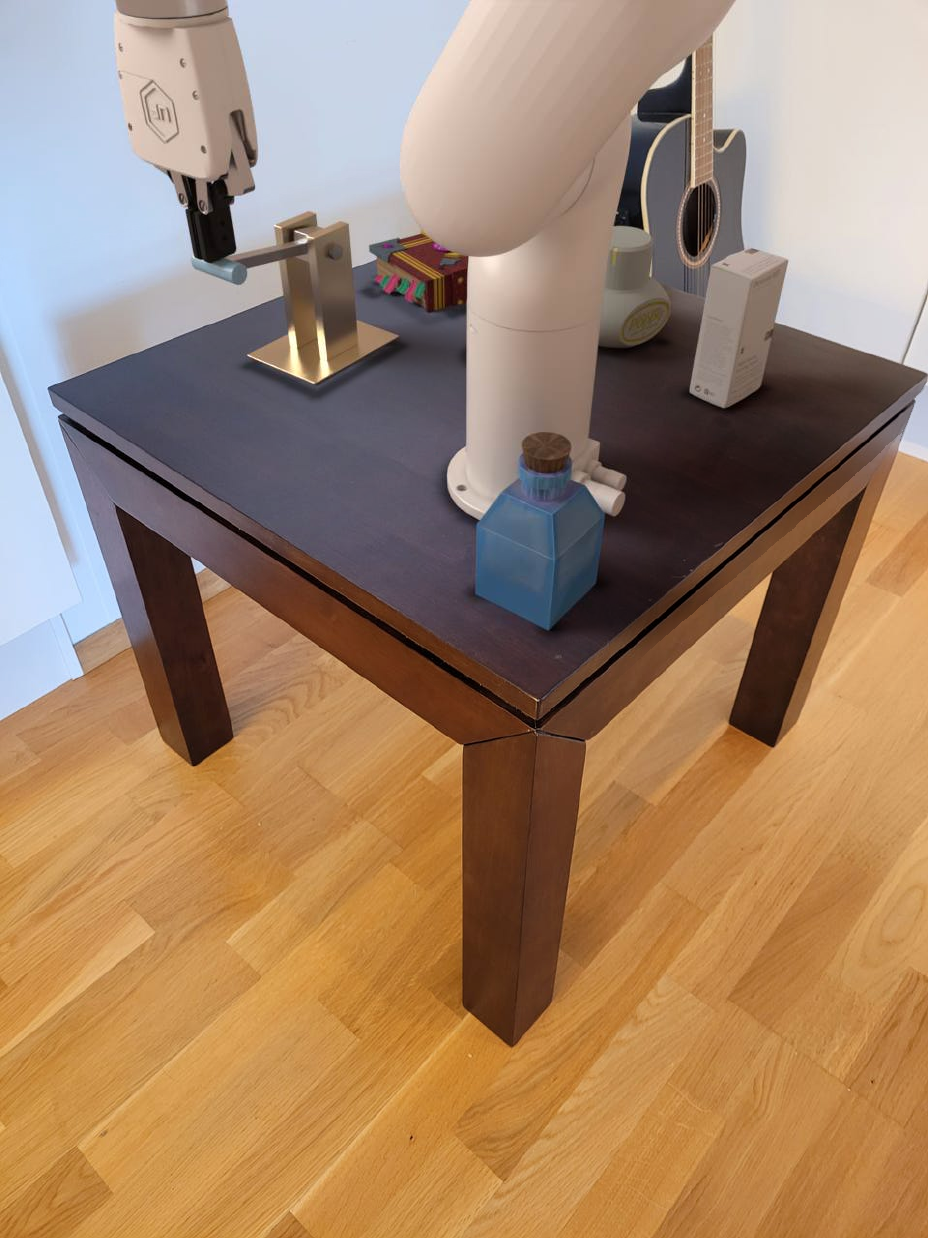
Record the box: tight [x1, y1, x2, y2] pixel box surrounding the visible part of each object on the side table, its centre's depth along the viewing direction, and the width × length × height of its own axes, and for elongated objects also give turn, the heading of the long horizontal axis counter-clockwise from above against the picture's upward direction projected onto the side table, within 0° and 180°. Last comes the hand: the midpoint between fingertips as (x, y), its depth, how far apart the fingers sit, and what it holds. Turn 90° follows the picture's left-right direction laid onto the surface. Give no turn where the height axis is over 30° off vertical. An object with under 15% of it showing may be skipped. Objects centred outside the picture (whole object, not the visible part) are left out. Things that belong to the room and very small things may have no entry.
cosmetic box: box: [689, 247, 789, 409], centre depth 84 cm, size 6×4×12 cm
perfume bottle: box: [475, 432, 606, 632], centre depth 64 cm, size 6×6×12 cm
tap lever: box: [190, 225, 325, 286], centre depth 82 cm, size 13×5×2 cm, turn 142°
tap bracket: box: [246, 210, 400, 387], centre depth 89 cm, size 12×9×13 cm
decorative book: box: [368, 229, 469, 314], centre depth 103 cm, size 11×16×5 cm
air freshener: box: [598, 225, 672, 349], centre depth 93 cm, size 11×8×10 cm
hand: (215, 255), depth 78 cm, fingers closed
